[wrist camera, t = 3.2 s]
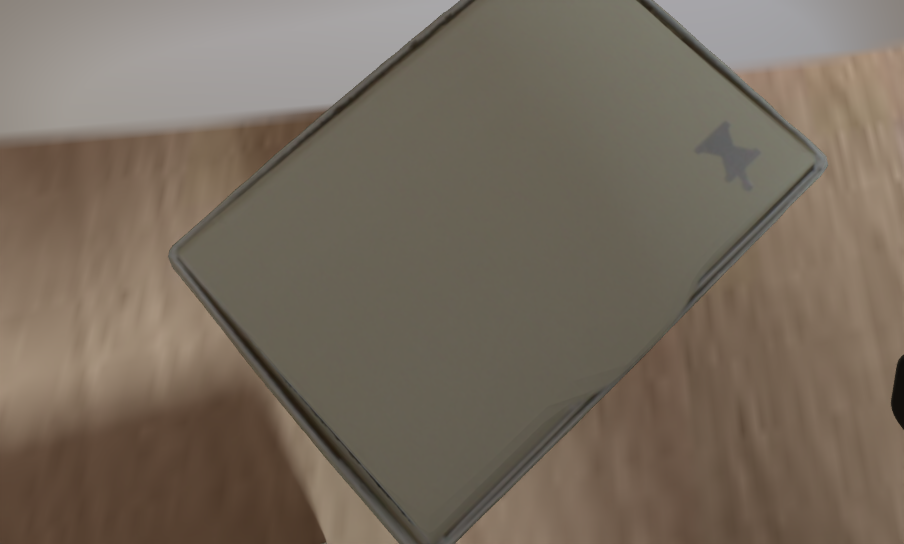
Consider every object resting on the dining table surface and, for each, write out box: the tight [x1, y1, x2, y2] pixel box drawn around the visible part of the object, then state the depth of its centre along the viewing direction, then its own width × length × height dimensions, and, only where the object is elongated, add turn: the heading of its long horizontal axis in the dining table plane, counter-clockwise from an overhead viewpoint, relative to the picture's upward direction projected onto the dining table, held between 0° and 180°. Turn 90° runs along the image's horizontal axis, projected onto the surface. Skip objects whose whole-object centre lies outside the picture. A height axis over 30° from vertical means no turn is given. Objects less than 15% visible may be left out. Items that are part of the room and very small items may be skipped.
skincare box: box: [168, 0, 828, 544], centre depth 14 cm, size 6×4×12 cm
